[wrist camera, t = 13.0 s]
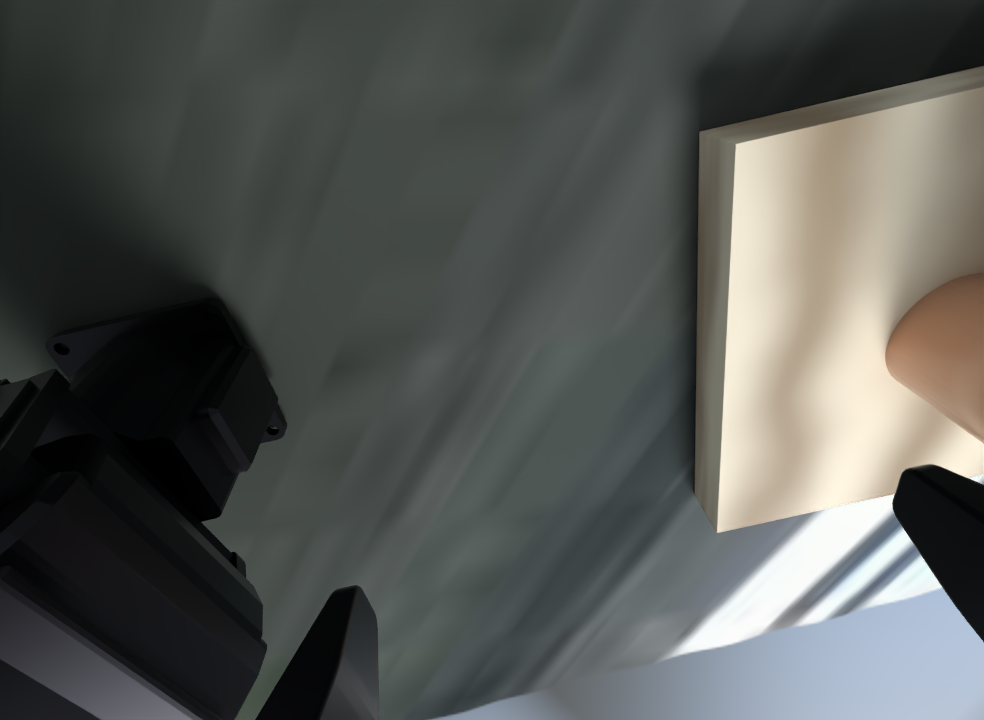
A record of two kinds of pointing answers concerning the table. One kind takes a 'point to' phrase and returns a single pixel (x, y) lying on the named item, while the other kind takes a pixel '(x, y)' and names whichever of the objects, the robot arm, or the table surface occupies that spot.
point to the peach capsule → (944, 351)
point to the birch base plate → (829, 294)
